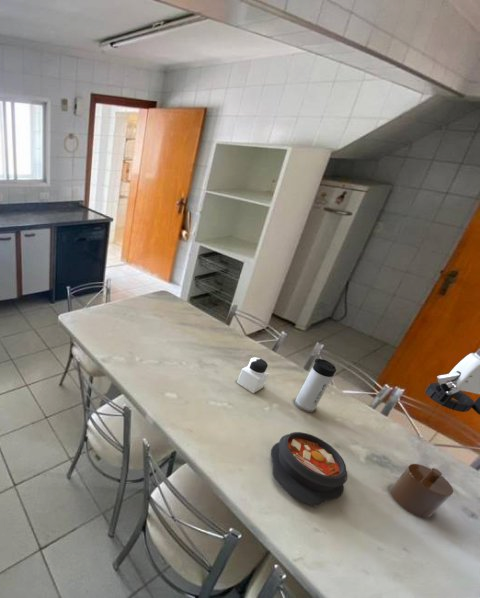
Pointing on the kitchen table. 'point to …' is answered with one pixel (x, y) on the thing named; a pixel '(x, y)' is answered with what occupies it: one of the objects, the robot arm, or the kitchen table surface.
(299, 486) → the casserole
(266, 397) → the kitchen table surface
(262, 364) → the medicine bottle
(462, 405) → the black segmented ring
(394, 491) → the brown cylinder
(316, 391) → the travel mug
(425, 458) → the kitchen table surface
